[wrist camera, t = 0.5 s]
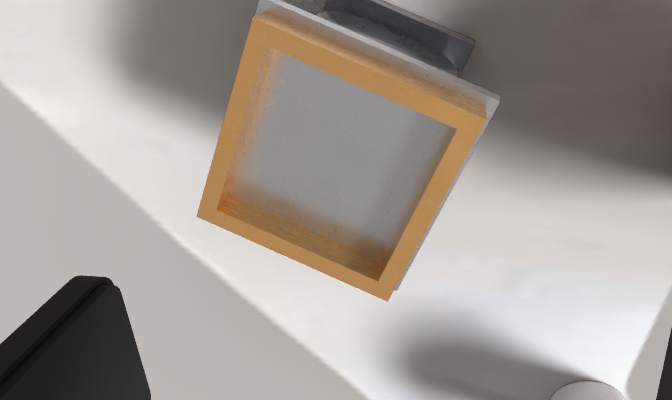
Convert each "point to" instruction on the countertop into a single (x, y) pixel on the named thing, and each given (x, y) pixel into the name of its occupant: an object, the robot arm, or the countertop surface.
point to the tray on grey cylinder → (345, 137)
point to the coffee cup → (587, 392)
